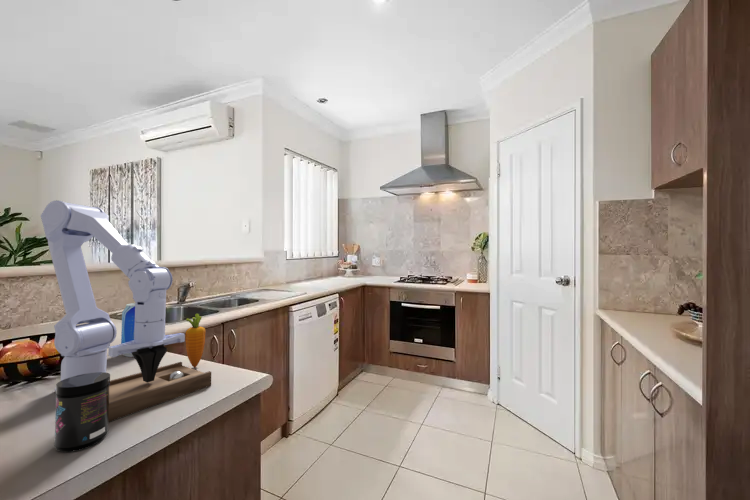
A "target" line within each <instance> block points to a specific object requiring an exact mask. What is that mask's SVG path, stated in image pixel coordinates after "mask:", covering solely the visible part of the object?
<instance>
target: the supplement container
mask: <svg viewBox="0 0 750 500" xmlns="http://www.w3.org/2000/svg"><path fill="white" fill-rule="evenodd" d="M110 380H111V374H110V373H109V372H107V371H106V372H95V373H87V374H82V375H77V376H73V377H70V378H67V379H64V380H62V381H61V380H60V381H58V382H57V383H56V385H55V389H56V391H55V412H54V413H55V416H54V417H55V421H54V440H53V441H54V443H53V444H54V445H53V446H54V449H55V450H56V451H58V452H61V453H71V452H72V453H73V452H77V451H81V450H85V449H87V448H89V447H92V446H94V445H96V444H98V443H99V442H101V441H102V440H103V439H104V438H105V437H106V436H107V435H108V432H109V422H108V421H109V388H110Z"/></svg>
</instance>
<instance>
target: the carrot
mask: <svg viewBox="0 0 750 500" xmlns="http://www.w3.org/2000/svg"><path fill="white" fill-rule="evenodd" d="M194 316H195V317H194ZM194 316H193V317H192V319H190V318H188V317H187V318H186V319H185V321H186V322H188V323H190V324H191V327H189V328H187V329H186V331H185V350H186V355H187V359H188V361H189V363H190V364H191V366H192V368H194V367H195V368H197V366H199V363H200V361H201V359H202V357H203V354H204V349H205V345H206V334H207V333H206V332H207V331H206V328H205V327H203V326H199V325H200V322H201V320H202V316H200V313H195V315H194Z"/></svg>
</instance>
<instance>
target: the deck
mask: <svg viewBox="0 0 750 500" xmlns="http://www.w3.org/2000/svg"><path fill="white" fill-rule="evenodd" d="M176 371H180V372H182V373H183V374H184V377H182V378H178V379H175V380H172V381H169V377H170V375H171V374H172V373H173V372H176ZM211 386H212V371H209V370H208V371H206V372H203V371H199V370H197V369H195V368H191V367H187V366H185V365H183V362H182V361H178V362H175V363H171V364H166V365H164V366H158V369H157V372H156V375H155V379H154V381H151V382H145V381H143V377H142V373H141V371H140V372H137V373H133V374H130V375H126V376H123V377H119V378H115V379H110V388H109V421H108V423H110V422H113V421H115V420H118V419H121V418H124V417H126V416H130V415H132V414H135V413H138V412H140V411H143V410H146V409H150V408H152V407H155V406H157V405H160V404H164V403H166V402H170V401H172V400H174V399H177V398H180V397H183V396H185V395H188V394H191V393H195V392H197V391H200V390H202V389H204V388H207V387H211Z"/></svg>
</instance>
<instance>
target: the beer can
mask: <svg viewBox="0 0 750 500" xmlns="http://www.w3.org/2000/svg"><path fill="white" fill-rule="evenodd" d="M134 327H135V302H133V303H132V302H131V303H128V304H127V303H126V305H125V308H124V309H123V310H122V313H121V335H120V336H121V339H120V344H122V343H126V342H130V341H133V340H134ZM123 356H124V357H132V358H134V356H133V355H132V352H131V353H126V354H123Z"/></svg>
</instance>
